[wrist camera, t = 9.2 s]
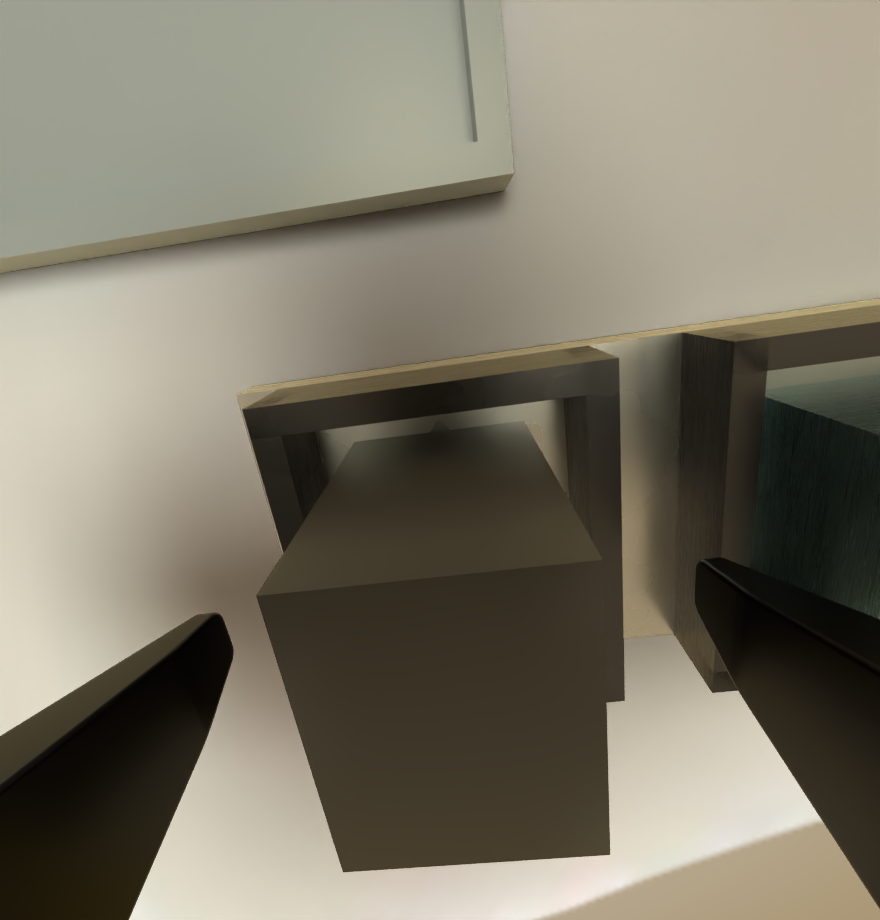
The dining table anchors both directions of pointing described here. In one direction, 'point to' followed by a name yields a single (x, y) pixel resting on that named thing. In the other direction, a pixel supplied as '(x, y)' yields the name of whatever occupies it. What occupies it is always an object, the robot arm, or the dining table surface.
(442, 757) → the block
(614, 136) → the dining table surface
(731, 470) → the double socket holder
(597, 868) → the dining table surface
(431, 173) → the tray
